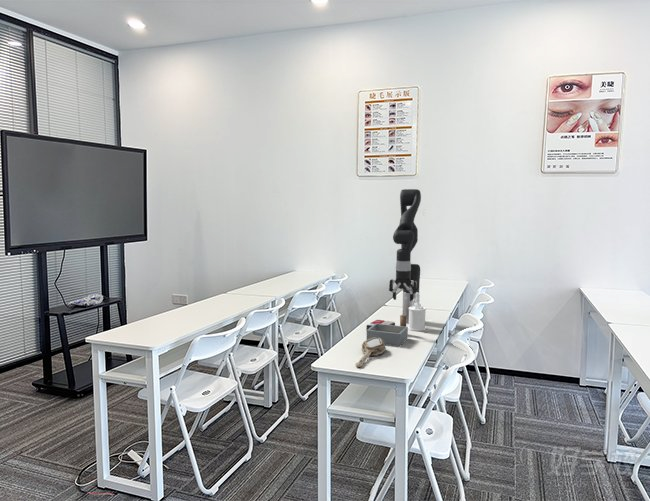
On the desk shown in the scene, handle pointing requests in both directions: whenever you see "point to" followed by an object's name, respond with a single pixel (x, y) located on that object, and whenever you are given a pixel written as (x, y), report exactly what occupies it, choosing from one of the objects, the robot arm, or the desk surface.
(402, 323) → the peg
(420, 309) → the white cylindrical bottle
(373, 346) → the hand mirror
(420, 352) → the desk surface
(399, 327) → the grey open box
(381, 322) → the calculator
